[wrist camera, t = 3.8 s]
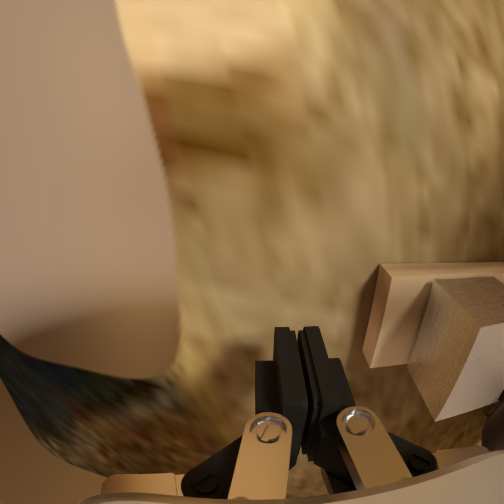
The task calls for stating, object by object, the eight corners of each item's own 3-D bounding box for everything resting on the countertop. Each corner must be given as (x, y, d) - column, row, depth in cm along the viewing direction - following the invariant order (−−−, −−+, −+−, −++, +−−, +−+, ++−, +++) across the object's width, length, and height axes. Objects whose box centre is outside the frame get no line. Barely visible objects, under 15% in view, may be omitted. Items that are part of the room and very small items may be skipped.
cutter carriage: (433, 279, 12) (480, 327, 8) (500, 275, 12) (546, 313, 8) (406, 367, 13) (434, 421, 10) (471, 355, 13) (503, 399, 10)
